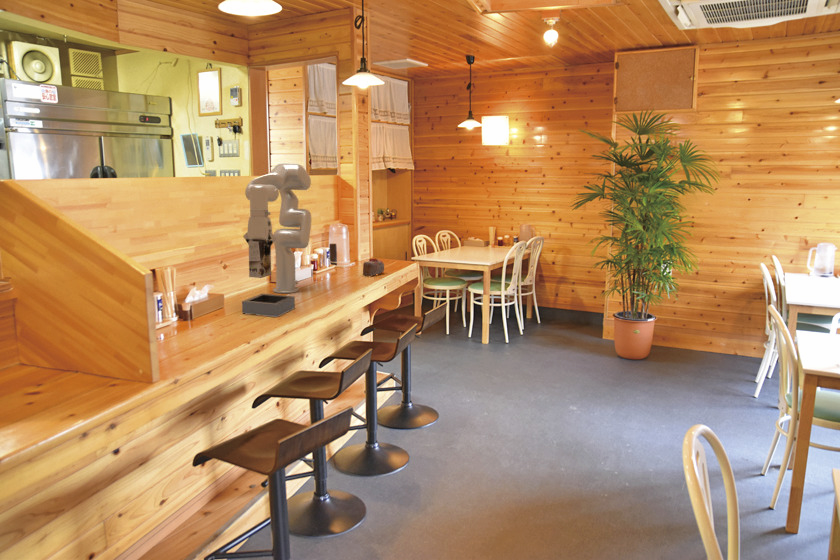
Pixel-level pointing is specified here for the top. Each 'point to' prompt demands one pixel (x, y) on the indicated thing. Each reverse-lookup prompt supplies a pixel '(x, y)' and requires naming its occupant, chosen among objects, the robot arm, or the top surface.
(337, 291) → the top surface
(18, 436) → the top surface
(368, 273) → the food item
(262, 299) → the socket
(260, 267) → the coffee box
